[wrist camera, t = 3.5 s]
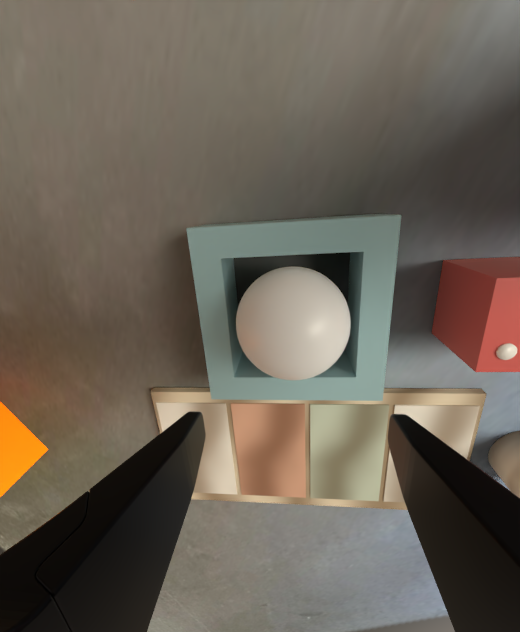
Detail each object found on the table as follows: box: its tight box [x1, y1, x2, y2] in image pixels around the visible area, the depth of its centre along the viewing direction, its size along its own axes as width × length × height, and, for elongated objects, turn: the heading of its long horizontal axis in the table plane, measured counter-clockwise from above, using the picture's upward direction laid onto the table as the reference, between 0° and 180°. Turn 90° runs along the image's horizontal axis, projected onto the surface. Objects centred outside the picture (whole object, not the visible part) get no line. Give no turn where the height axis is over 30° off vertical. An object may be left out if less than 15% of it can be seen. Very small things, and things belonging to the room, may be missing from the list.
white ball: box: [236, 266, 351, 380], centre depth 16 cm, size 6×6×6 cm
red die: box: [432, 257, 520, 372], centre depth 16 cm, size 5×5×5 cm
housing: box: [186, 214, 402, 401], centre depth 18 cm, size 11×11×4 cm
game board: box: [151, 388, 486, 510], centre depth 24 cm, size 25×12×1 cm, turn 94°
